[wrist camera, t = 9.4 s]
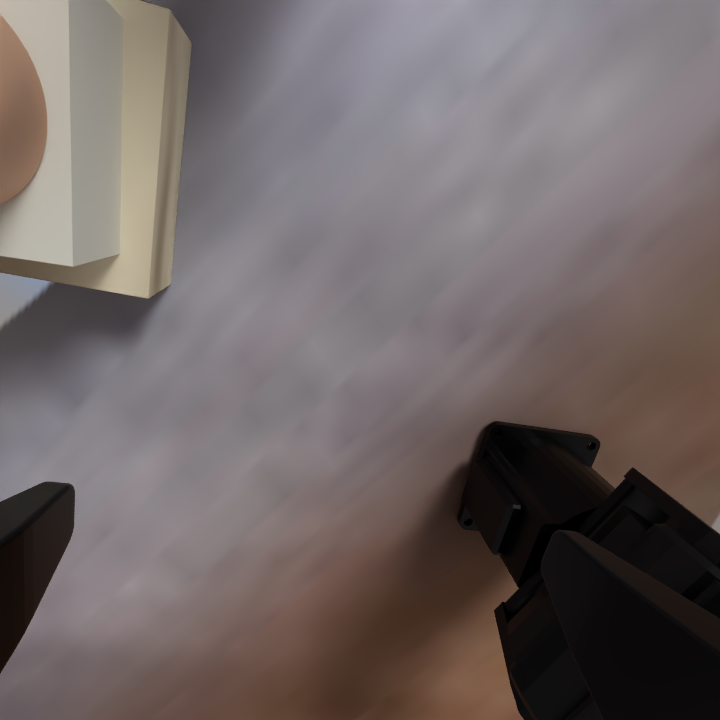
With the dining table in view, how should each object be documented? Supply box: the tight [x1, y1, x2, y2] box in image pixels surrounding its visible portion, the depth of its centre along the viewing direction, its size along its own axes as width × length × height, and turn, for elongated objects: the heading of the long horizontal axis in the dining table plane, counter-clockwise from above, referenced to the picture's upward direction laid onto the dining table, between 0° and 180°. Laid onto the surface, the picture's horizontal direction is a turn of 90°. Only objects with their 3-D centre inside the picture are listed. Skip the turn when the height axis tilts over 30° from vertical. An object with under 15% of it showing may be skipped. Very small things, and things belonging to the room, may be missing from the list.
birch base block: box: [0, 0, 192, 298], centre depth 16 cm, size 9×9×4 cm
